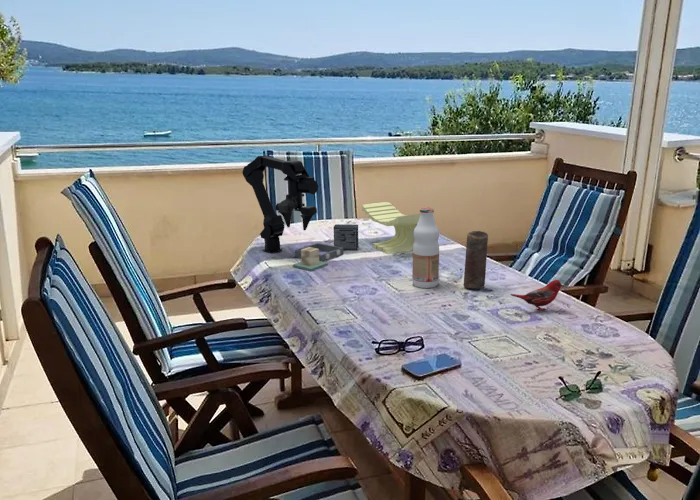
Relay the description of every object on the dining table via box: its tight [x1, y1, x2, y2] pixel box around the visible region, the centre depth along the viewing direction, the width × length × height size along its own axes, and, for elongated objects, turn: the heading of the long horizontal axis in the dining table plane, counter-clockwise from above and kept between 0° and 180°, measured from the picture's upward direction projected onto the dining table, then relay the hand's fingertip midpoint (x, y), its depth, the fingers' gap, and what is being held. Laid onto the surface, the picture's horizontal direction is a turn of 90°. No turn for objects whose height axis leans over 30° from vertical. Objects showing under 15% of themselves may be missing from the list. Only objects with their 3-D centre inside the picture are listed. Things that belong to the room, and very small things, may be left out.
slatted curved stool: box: [361, 201, 421, 255], centre depth 266 cm, size 30×16×18 cm, turn 28°
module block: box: [300, 247, 320, 266], centre depth 243 cm, size 5×5×6 cm
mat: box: [292, 261, 329, 272], centre depth 244 cm, size 10×10×1 cm
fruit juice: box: [411, 206, 440, 289], centre depth 216 cm, size 9×9×28 cm
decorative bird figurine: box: [510, 279, 564, 311], centre depth 192 cm, size 3×18×10 cm, turn 99°
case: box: [294, 242, 344, 262], centre depth 258 cm, size 15×15×3 cm
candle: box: [463, 230, 489, 290], centre depth 213 cm, size 8×7×20 cm
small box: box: [333, 223, 359, 251], centre depth 268 cm, size 11×6×10 cm, turn 84°
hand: (296, 228), depth 255 cm, fingers open, 9 cm apart
